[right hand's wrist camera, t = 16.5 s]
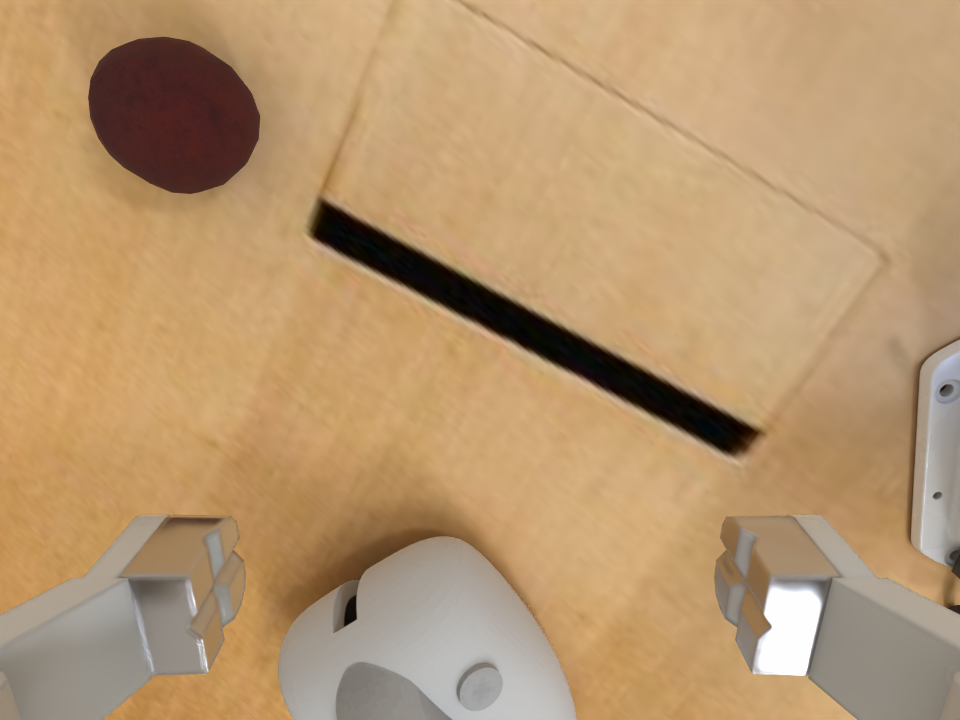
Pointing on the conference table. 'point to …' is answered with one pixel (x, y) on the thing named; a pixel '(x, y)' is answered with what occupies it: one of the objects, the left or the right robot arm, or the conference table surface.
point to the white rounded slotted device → (423, 645)
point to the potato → (173, 114)
